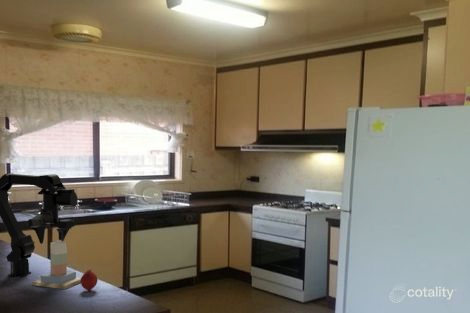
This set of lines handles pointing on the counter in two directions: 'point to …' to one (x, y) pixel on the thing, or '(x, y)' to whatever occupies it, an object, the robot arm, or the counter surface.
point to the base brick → (58, 277)
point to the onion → (89, 280)
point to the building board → (62, 286)
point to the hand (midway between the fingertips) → (50, 244)
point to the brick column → (58, 257)
